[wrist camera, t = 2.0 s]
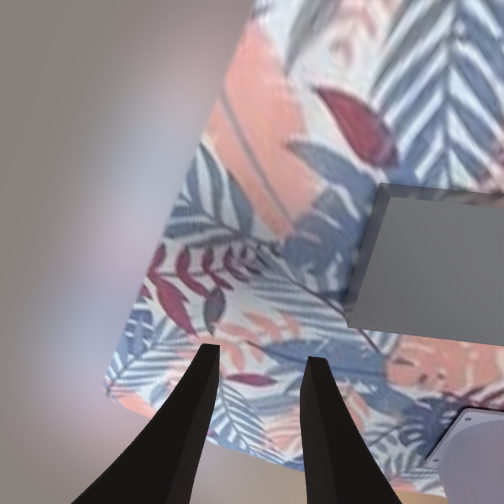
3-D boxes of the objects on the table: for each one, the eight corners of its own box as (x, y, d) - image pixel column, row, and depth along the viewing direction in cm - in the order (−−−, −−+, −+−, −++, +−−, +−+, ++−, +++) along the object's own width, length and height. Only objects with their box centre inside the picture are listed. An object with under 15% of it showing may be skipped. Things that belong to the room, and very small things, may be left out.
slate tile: (514, 322, 22) (539, 350, 20) (342, 301, 22) (347, 327, 20) (600, 202, 17) (644, 222, 15) (378, 180, 18) (390, 196, 16)
